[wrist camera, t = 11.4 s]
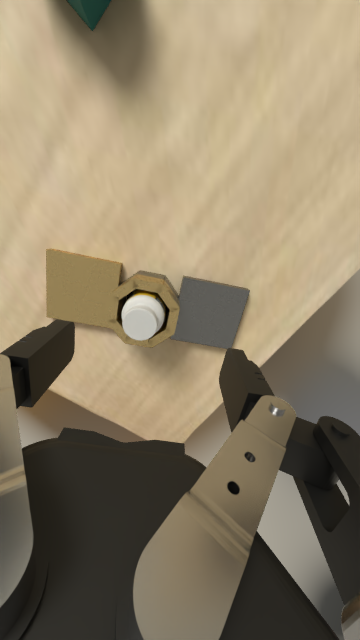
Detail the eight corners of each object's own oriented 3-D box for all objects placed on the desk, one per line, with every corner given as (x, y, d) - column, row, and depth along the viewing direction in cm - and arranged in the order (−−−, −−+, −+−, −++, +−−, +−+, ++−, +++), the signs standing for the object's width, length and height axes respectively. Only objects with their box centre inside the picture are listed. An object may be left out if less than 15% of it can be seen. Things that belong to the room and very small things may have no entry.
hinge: (247, 288, 34) (261, 299, 29) (229, 345, 38) (238, 365, 32) (50, 248, 32) (24, 252, 26) (50, 314, 35) (27, 330, 30)
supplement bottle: (173, 298, 35) (173, 322, 26) (152, 323, 36) (145, 355, 27) (144, 276, 33) (133, 293, 24) (124, 304, 35) (106, 329, 26)
